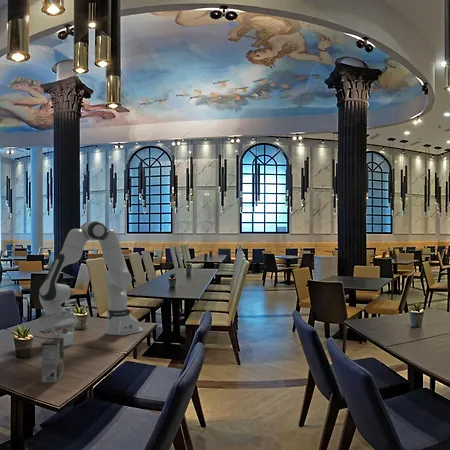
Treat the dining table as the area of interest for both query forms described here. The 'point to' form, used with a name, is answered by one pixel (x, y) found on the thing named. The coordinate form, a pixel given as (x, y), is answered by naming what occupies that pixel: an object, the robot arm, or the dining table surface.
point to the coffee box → (52, 359)
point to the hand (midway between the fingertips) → (65, 334)
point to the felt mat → (70, 345)
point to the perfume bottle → (67, 337)
